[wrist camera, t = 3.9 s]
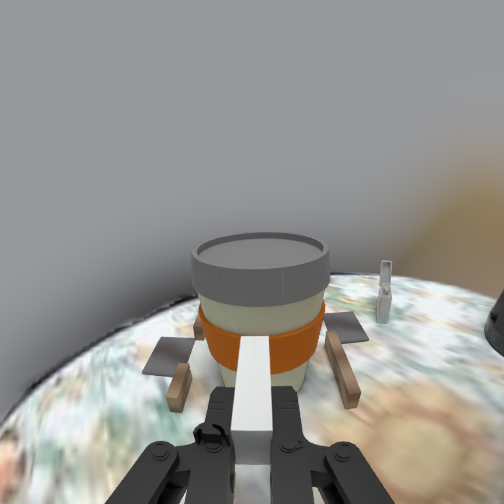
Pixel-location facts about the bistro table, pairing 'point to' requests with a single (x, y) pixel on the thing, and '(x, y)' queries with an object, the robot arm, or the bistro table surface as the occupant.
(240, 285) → the reusable coffee cup
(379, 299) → the lighter
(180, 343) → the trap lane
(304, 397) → the bistro table surface
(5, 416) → the bistro table surface
